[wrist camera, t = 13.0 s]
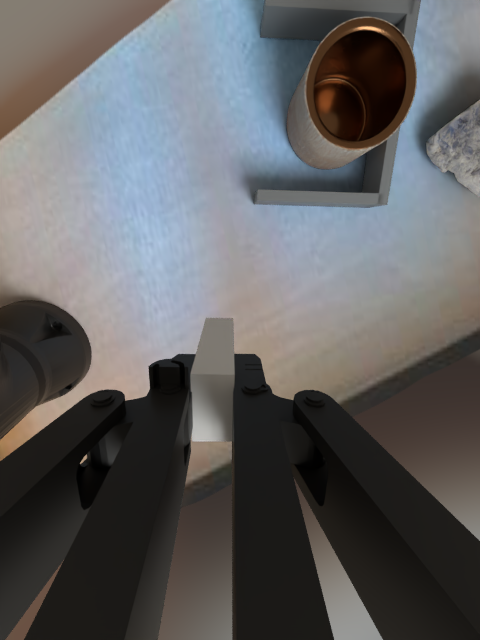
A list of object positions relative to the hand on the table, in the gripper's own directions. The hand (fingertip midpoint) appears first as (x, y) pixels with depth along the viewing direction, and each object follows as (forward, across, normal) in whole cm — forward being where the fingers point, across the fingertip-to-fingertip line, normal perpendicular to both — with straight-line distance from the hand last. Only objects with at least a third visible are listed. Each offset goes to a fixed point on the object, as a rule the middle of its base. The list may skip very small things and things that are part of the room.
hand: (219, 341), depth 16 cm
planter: (+27, -13, -19) cm, 35 cm away
